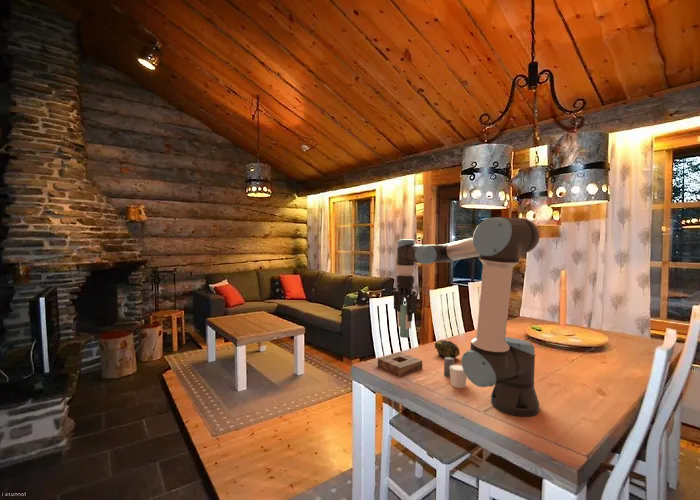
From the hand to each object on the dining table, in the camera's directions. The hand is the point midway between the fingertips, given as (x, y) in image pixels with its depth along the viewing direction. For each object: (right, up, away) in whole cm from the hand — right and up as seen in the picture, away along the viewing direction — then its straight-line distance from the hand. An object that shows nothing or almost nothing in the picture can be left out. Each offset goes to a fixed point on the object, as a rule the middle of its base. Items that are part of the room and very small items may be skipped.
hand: (404, 327), depth 153 cm
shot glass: (+19, -19, -16) cm, 31 cm away
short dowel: (+18, -19, -7) cm, 27 cm away
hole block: (-2, -18, +2) cm, 19 cm away
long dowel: (0, -4, 0) cm, 4 cm away
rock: (+23, -18, +16) cm, 34 cm away
